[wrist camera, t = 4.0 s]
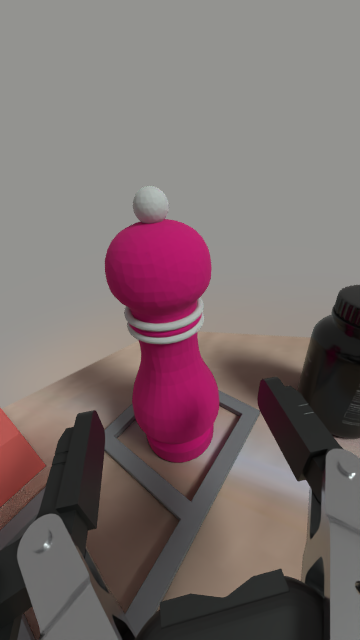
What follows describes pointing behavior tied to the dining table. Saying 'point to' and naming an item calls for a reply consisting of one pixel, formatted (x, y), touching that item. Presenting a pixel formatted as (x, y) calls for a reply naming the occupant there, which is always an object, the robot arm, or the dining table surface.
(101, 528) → the dining table surface
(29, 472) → the die
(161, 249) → the pepper mill
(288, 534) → the dining table surface
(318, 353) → the supplement bottle
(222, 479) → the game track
